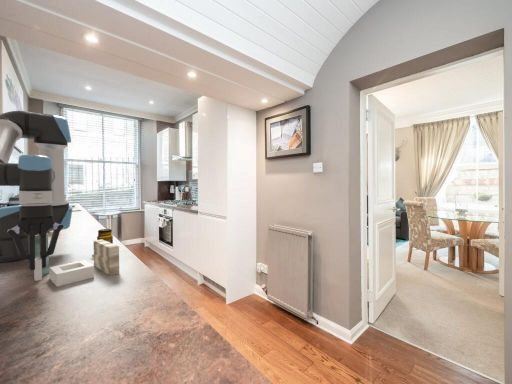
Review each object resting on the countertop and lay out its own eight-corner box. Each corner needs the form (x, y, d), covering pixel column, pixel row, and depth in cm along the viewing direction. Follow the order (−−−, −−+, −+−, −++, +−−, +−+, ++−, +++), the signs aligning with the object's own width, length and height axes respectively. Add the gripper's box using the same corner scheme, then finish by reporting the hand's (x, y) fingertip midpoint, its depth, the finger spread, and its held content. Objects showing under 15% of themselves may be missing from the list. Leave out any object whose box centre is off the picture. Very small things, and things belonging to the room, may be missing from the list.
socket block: (49, 278, 79) (49, 267, 79) (85, 270, 86) (84, 260, 86) (56, 286, 72) (56, 274, 72) (94, 277, 80) (93, 265, 80)
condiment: (114, 256, 104) (113, 230, 104) (91, 259, 100) (90, 232, 99) (113, 252, 110) (113, 227, 110) (92, 255, 106) (91, 229, 106)
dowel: (32, 274, 83) (31, 235, 82) (47, 271, 86) (46, 234, 85) (34, 277, 80) (33, 237, 80) (50, 273, 83) (49, 235, 83)
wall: (93, 265, 92) (93, 240, 92) (102, 263, 94) (102, 239, 94) (110, 275, 82) (109, 247, 81) (119, 273, 84) (118, 246, 84)
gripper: (7, 206, 65) (9, 289, 65) (65, 204, 75) (67, 275, 75) (4, 205, 69) (6, 282, 70) (60, 203, 80) (61, 270, 80)
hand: (38, 278), depth 73 cm, fingers closed
